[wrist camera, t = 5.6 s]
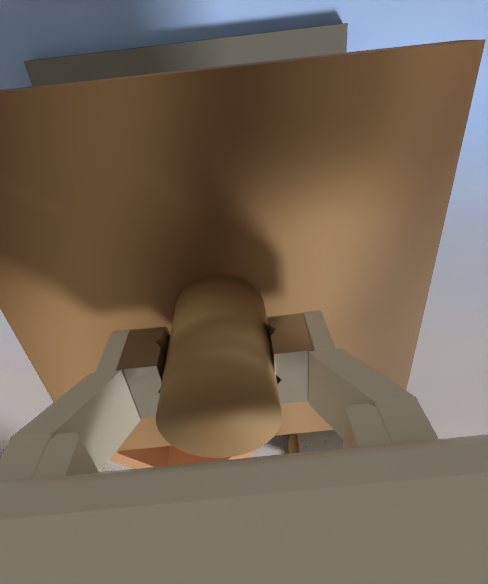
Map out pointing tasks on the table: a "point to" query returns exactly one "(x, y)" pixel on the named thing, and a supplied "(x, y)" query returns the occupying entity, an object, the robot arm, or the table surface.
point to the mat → (190, 55)
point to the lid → (230, 223)
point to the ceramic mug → (314, 441)
